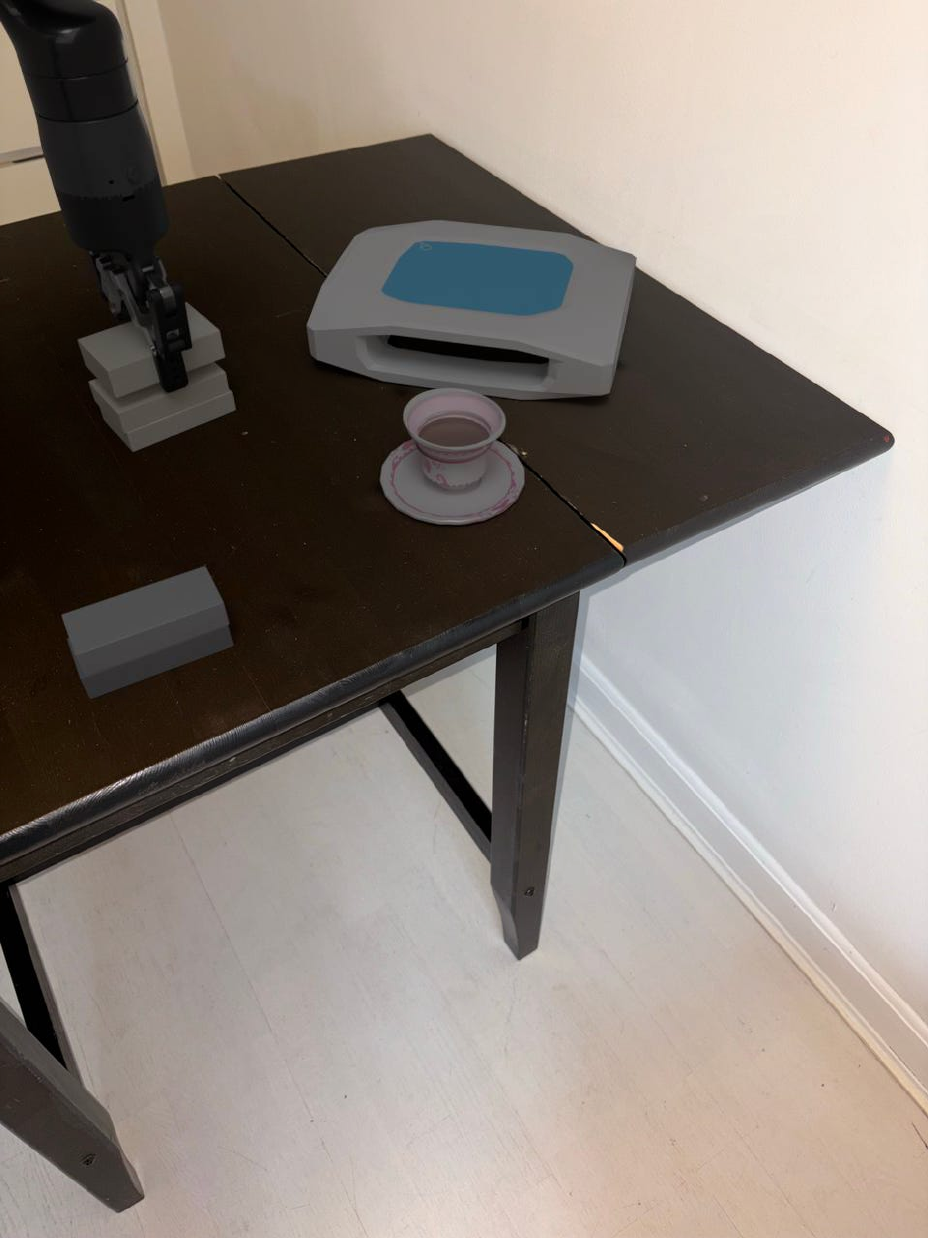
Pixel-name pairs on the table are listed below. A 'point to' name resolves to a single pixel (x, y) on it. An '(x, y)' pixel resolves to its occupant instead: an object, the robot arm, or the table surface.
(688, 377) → the table surface
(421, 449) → the teacup
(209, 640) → the gray block
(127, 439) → the grey block
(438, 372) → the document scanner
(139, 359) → the light grey rectangular block
